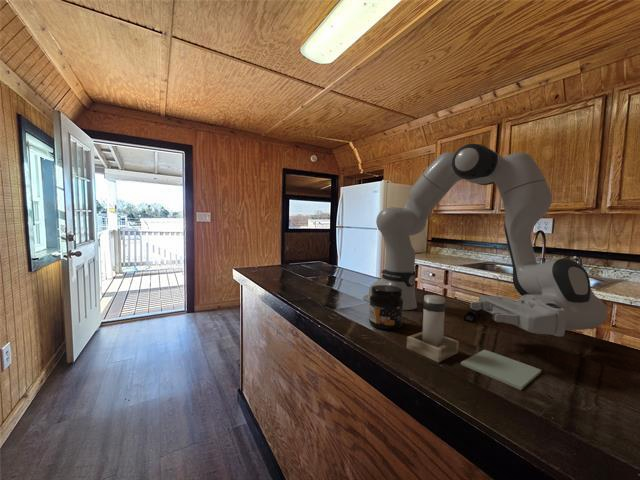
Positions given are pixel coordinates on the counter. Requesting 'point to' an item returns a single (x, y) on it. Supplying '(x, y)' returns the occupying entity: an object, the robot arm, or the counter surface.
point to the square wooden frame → (432, 347)
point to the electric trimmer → (472, 315)
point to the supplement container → (386, 307)
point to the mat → (502, 368)
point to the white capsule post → (433, 320)
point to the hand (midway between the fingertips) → (482, 311)
